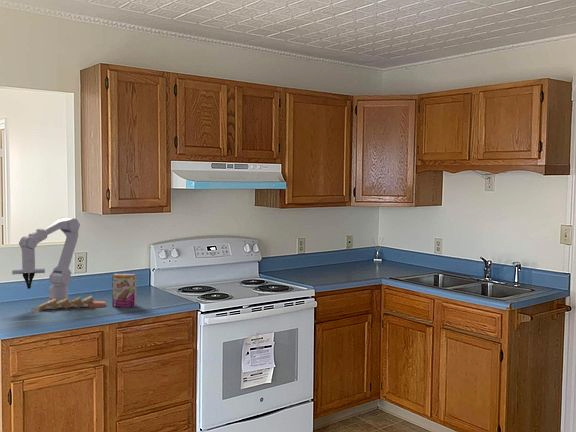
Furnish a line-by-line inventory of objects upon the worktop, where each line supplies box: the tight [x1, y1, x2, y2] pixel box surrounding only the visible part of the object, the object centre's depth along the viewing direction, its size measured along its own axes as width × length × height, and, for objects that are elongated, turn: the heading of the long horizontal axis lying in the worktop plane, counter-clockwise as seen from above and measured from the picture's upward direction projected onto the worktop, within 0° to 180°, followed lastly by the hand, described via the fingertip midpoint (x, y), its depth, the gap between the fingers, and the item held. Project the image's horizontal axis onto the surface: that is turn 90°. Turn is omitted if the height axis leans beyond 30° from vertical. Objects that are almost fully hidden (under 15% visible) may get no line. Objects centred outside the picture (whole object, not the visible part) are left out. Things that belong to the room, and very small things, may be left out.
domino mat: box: [29, 304, 96, 314], centre depth 288 cm, size 29×12×1 cm, turn 110°
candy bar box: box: [111, 273, 137, 308], centre depth 294 cm, size 11×5×16 cm, turn 92°
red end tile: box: [88, 300, 107, 308], centre depth 293 cm, size 2×5×8 cm
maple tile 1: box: [38, 298, 57, 311], centre depth 285 cm, size 2×5×8 cm
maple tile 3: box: [64, 296, 82, 309], centre depth 289 cm, size 2×5×8 cm
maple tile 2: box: [51, 297, 70, 310], centre depth 287 cm, size 2×5×8 cm
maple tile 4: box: [76, 294, 94, 308], centre depth 291 cm, size 2×5×8 cm
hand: (29, 288), depth 286 cm, fingers closed
